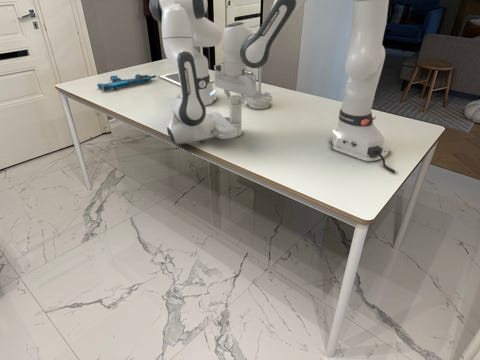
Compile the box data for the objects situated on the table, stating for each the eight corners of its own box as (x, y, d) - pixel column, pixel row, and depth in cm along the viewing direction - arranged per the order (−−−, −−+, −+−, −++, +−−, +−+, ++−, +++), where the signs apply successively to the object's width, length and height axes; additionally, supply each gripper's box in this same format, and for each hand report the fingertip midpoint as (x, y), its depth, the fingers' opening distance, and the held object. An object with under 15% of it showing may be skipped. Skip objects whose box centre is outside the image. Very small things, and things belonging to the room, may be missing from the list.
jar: (239, 130, 150) (239, 96, 142) (242, 135, 146) (242, 100, 138) (228, 131, 149) (227, 97, 141) (231, 136, 145) (230, 102, 136)
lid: (230, 104, 137) (230, 100, 136) (226, 99, 141) (226, 95, 140) (244, 103, 138) (244, 99, 137) (240, 98, 143) (240, 94, 142)
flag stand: (265, 99, 183) (267, 40, 167) (275, 107, 173) (279, 45, 156) (242, 102, 179) (242, 42, 163) (252, 111, 169) (253, 48, 152)
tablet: (158, 76, 219) (158, 76, 219) (185, 70, 230) (185, 70, 230) (186, 88, 199) (186, 87, 198) (213, 81, 210) (213, 81, 209)
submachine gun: (141, 68, 224) (160, 75, 207) (142, 74, 226) (161, 81, 209) (89, 78, 205) (105, 86, 189) (91, 85, 207) (107, 93, 191)
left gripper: (216, 130, 130) (248, 123, 135) (198, 112, 146) (227, 106, 151) (217, 144, 134) (248, 137, 139) (199, 125, 149) (227, 120, 154)
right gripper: (260, 71, 128) (259, 105, 136) (221, 62, 140) (222, 94, 147) (250, 74, 124) (249, 110, 132) (211, 65, 136) (212, 98, 143)
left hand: (237, 121), depth 145 cm, fingers closed on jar, 5 cm apart
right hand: (235, 102), depth 140 cm, fingers closed on lid, 5 cm apart
